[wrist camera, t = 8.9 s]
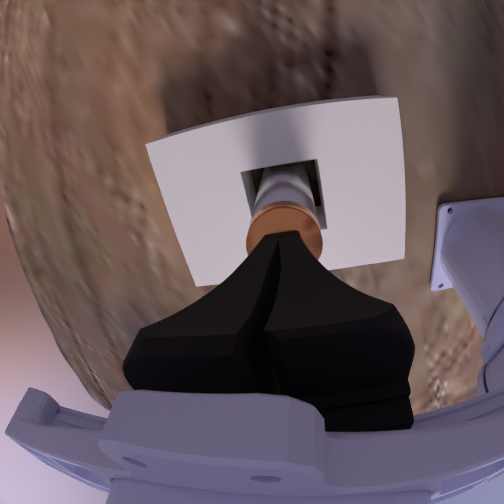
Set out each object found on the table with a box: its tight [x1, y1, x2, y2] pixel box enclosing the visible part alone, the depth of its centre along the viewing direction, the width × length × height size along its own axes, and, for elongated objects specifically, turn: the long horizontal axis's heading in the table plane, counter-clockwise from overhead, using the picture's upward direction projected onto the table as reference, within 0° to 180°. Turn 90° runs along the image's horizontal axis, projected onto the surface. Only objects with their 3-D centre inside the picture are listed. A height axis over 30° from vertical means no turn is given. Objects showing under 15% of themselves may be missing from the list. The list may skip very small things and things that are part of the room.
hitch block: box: [146, 95, 405, 287], centre depth 18 cm, size 14×10×4 cm
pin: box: [246, 162, 323, 260], centre depth 15 cm, size 3×3×9 cm
